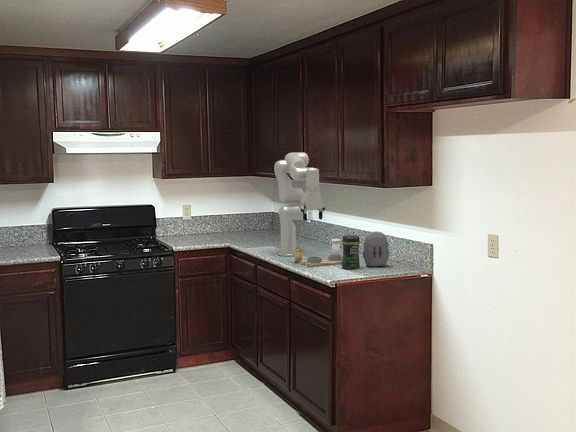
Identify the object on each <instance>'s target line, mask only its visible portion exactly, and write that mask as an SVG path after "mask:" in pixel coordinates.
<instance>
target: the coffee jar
mask: <svg viewBox="0 0 576 432" xmlns="http://www.w3.org/2000/svg"><path fill="white" fill-rule="evenodd" d="M360 242H361V241H360V235H356V234H348V235H343V236H342V240H341V244H342V251H343V252H342V256H343V258H342V265H341V267H342V268H343V269H344V270H354V269H355V270H356V269H360V266H361V265H360V254H359V248H360V247H359V246H360Z"/></svg>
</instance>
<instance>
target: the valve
mask: <svg viewBox="0 0 576 432" xmlns="http://www.w3.org/2000/svg"><path fill="white" fill-rule="evenodd" d="M303 249H304V248H300V247H296V249H294V251H295V256H294V263H295V264H300V261H303Z"/></svg>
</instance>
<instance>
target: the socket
mask: <svg viewBox="0 0 576 432" xmlns="http://www.w3.org/2000/svg"><path fill="white" fill-rule="evenodd" d="M322 259H323V257H321V256H308V257H306V260H307V262H308V263H321V262H322Z"/></svg>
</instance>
